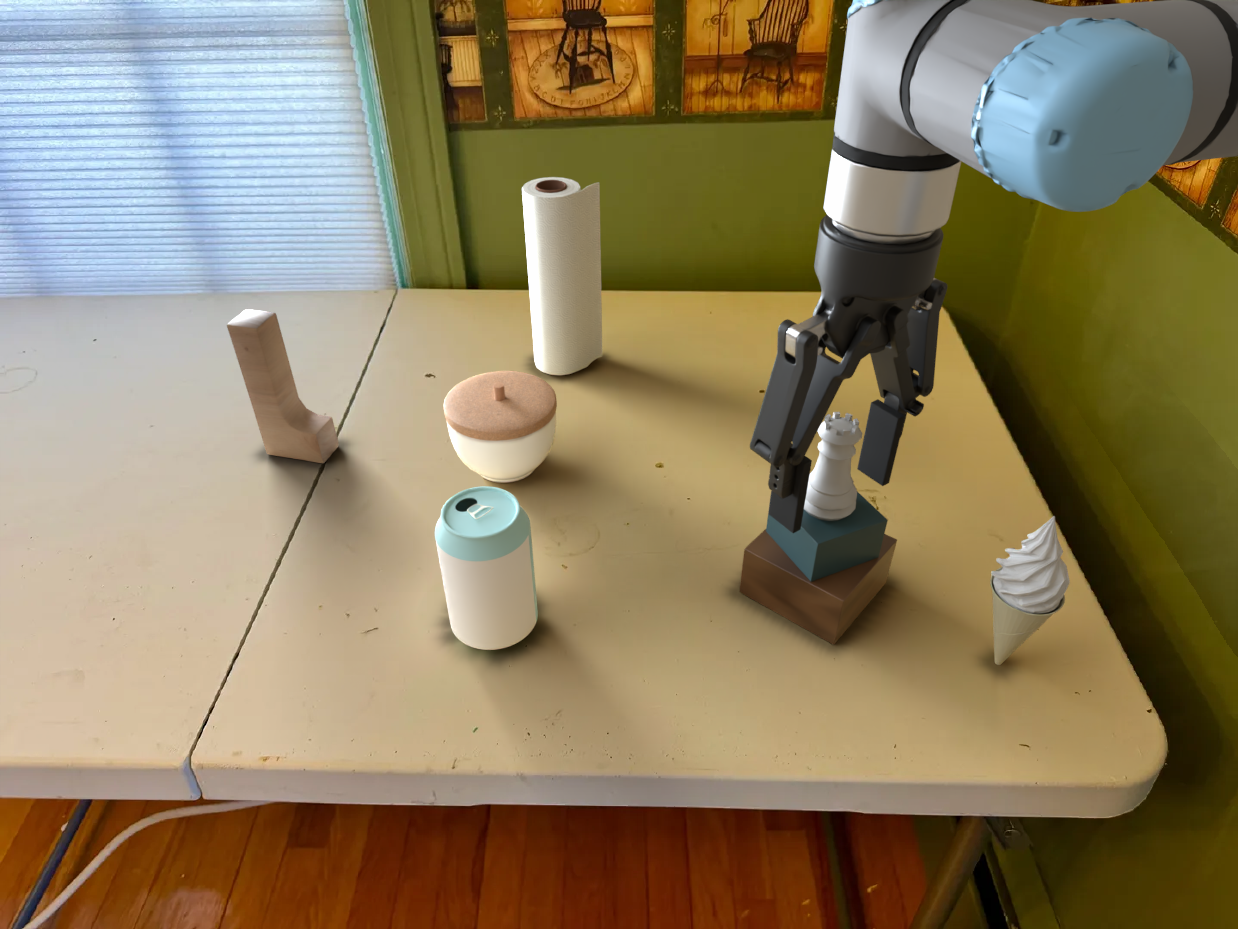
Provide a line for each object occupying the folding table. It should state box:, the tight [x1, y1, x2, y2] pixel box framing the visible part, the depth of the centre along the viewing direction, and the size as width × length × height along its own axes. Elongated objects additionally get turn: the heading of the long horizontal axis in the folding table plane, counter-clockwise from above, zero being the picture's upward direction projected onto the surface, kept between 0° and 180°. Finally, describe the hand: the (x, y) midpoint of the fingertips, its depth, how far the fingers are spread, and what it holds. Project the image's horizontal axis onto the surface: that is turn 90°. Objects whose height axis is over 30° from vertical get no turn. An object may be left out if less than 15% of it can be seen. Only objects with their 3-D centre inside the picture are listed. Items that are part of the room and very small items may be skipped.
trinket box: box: [442, 370, 558, 484], centre depth 85 cm, size 11×11×9 cm
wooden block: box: [226, 308, 340, 464], centre depth 85 cm, size 7×3×15 cm, turn 75°
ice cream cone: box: [989, 515, 1071, 666], centre depth 63 cm, size 5×5×15 cm
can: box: [434, 485, 539, 651], centre depth 67 cm, size 7×7×12 cm
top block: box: [765, 491, 889, 582], centre depth 70 cm, size 6×6×4 cm
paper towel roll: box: [521, 176, 604, 376], centre depth 96 cm, size 7×6×21 cm
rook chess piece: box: [804, 411, 863, 521], centre depth 66 cm, size 4×4×8 cm
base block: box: [738, 528, 898, 646], centre depth 72 cm, size 9×9×5 cm
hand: (830, 498), depth 68 cm, fingers open, 9 cm apart
